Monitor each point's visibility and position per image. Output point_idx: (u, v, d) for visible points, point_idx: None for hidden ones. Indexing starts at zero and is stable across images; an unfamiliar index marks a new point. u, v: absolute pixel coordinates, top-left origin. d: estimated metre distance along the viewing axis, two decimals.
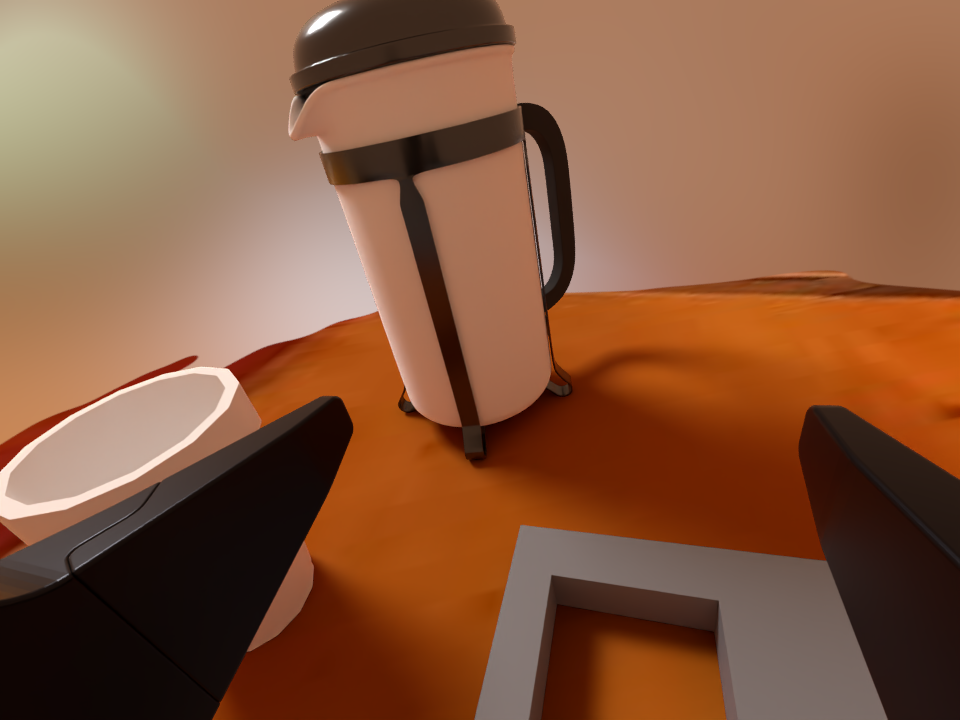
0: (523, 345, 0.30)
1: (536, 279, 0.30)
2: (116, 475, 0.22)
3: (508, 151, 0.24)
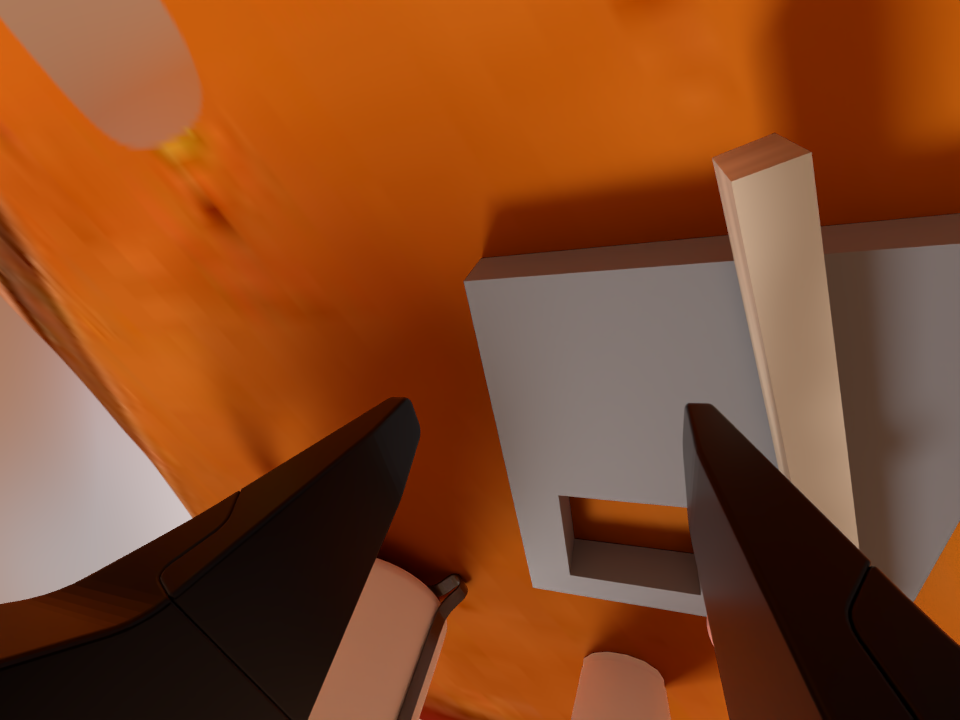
0: (361, 641, 0.28)
1: None
2: None
3: None
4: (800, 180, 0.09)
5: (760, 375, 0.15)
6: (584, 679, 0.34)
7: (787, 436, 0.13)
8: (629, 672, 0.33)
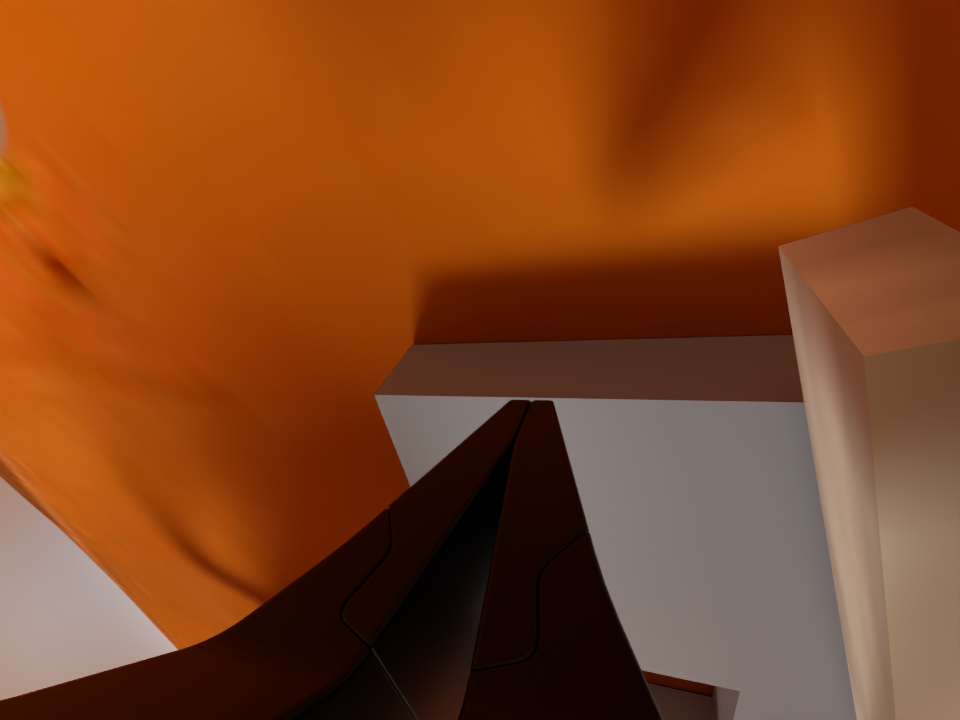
0: None
1: None
2: None
3: None
4: None
5: (839, 579, 0.09)
6: None
7: None
8: None
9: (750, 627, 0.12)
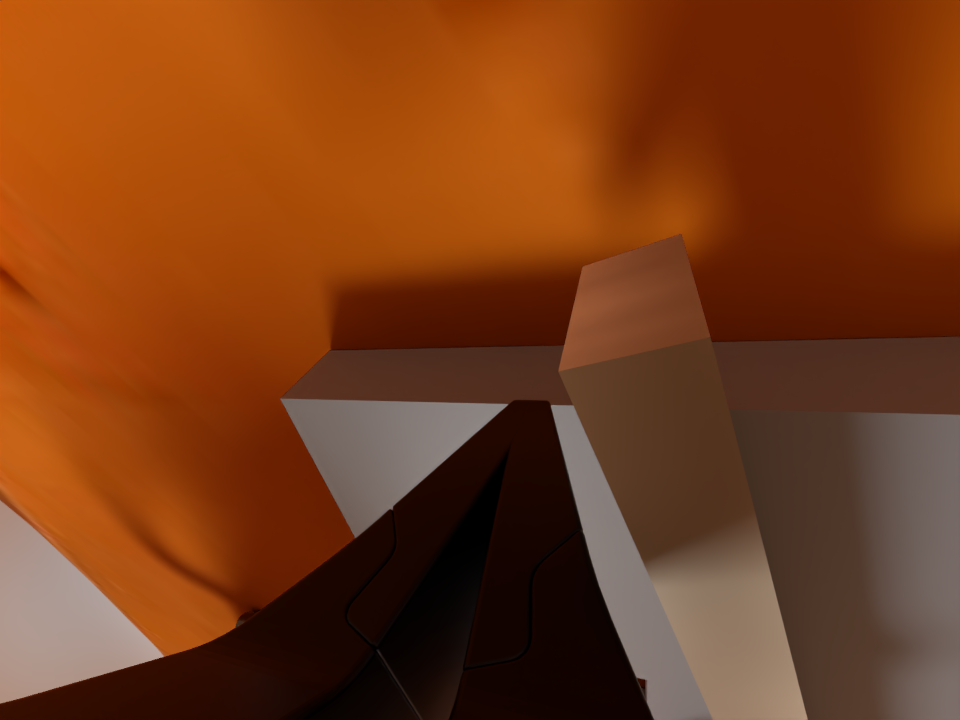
0: None
1: None
2: None
3: None
4: (694, 384, 0.04)
5: None
6: None
7: (718, 714, 0.08)
8: None
9: (643, 618, 0.13)
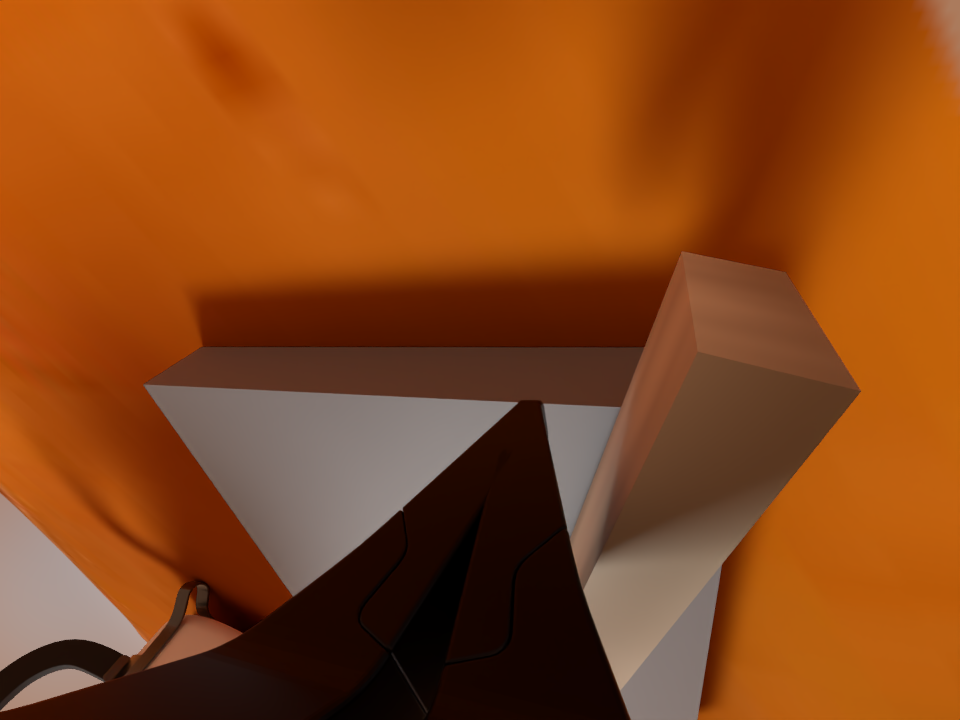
0: None
1: None
2: None
3: None
4: (804, 421, 0.05)
5: (573, 541, 0.11)
6: None
7: None
8: None
9: None
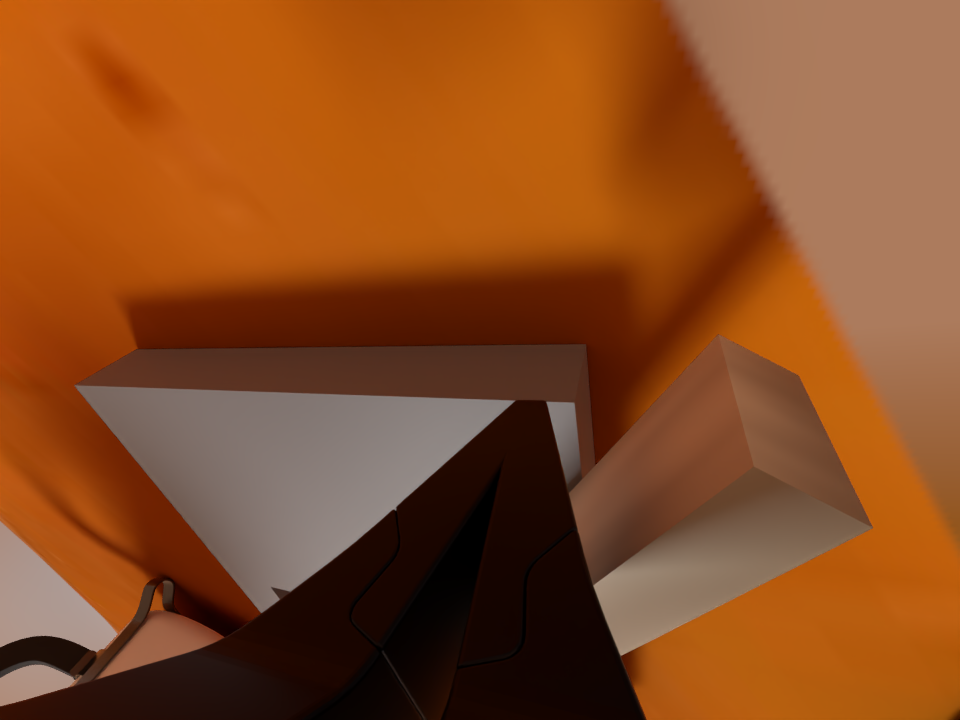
0: None
1: None
2: None
3: None
4: (815, 537, 0.05)
5: None
6: None
7: None
8: None
9: None
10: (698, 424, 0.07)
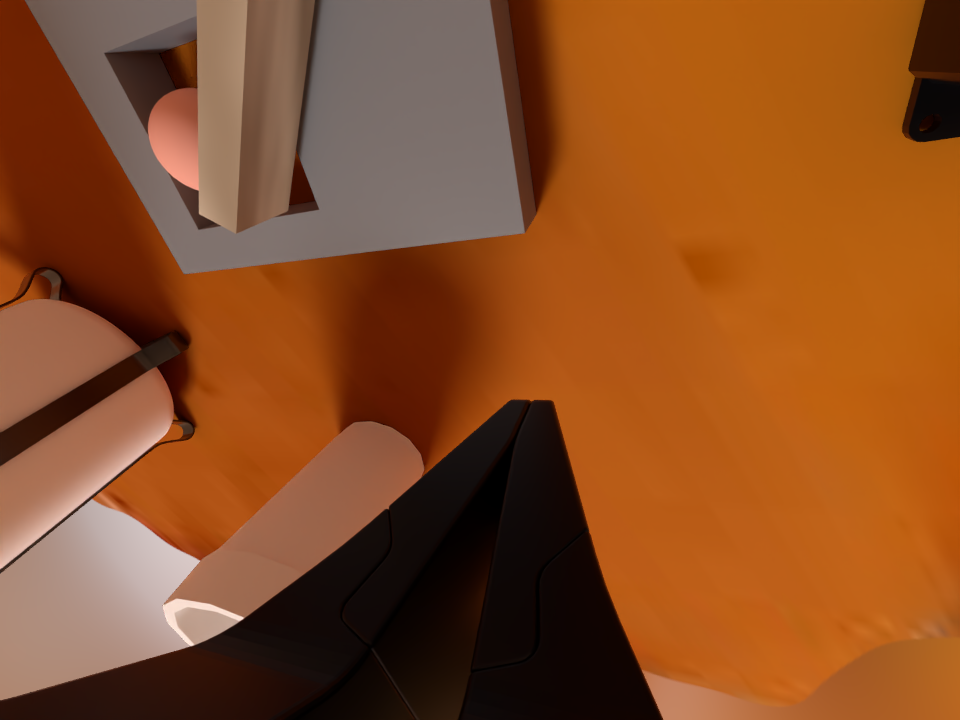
0: None
1: None
2: None
3: None
4: None
5: None
6: None
7: None
8: (365, 433, 0.28)
9: None
10: None
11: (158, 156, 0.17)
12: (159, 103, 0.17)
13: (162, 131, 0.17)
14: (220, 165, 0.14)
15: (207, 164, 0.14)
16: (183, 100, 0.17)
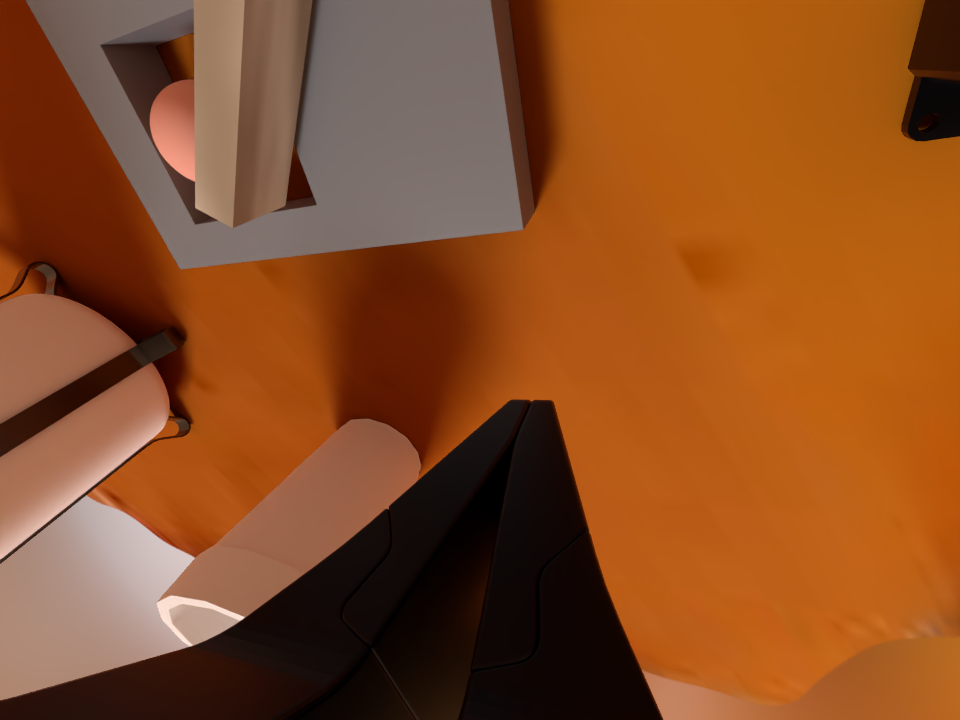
0: None
1: None
2: None
3: None
4: None
5: None
6: None
7: None
8: (362, 430, 0.27)
9: None
10: None
11: (163, 147, 0.17)
12: (165, 93, 0.17)
13: (170, 121, 0.16)
14: (216, 159, 0.14)
15: (204, 157, 0.14)
16: (191, 90, 0.17)
